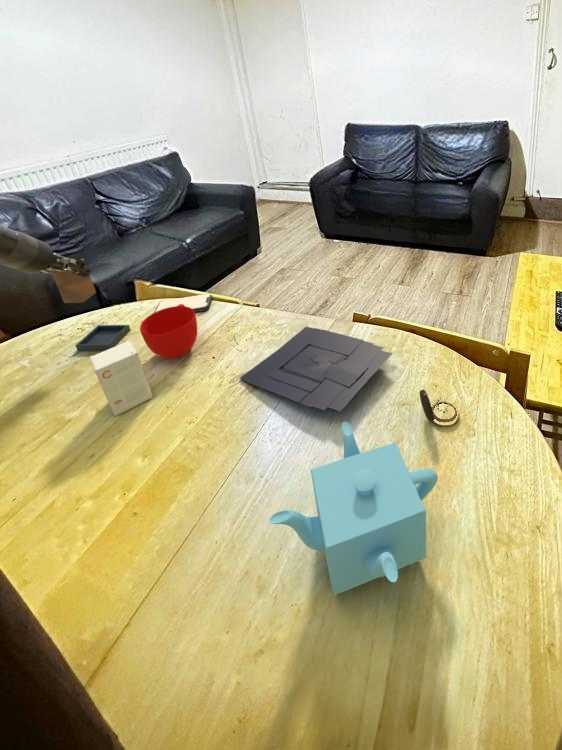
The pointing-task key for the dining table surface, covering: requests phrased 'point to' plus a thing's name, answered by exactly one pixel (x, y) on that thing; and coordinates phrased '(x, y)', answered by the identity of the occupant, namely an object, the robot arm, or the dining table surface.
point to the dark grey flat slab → (318, 368)
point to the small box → (121, 377)
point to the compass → (429, 410)
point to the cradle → (103, 338)
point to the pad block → (73, 286)
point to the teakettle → (365, 514)
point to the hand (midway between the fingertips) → (77, 273)
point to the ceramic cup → (170, 331)
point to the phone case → (188, 302)
